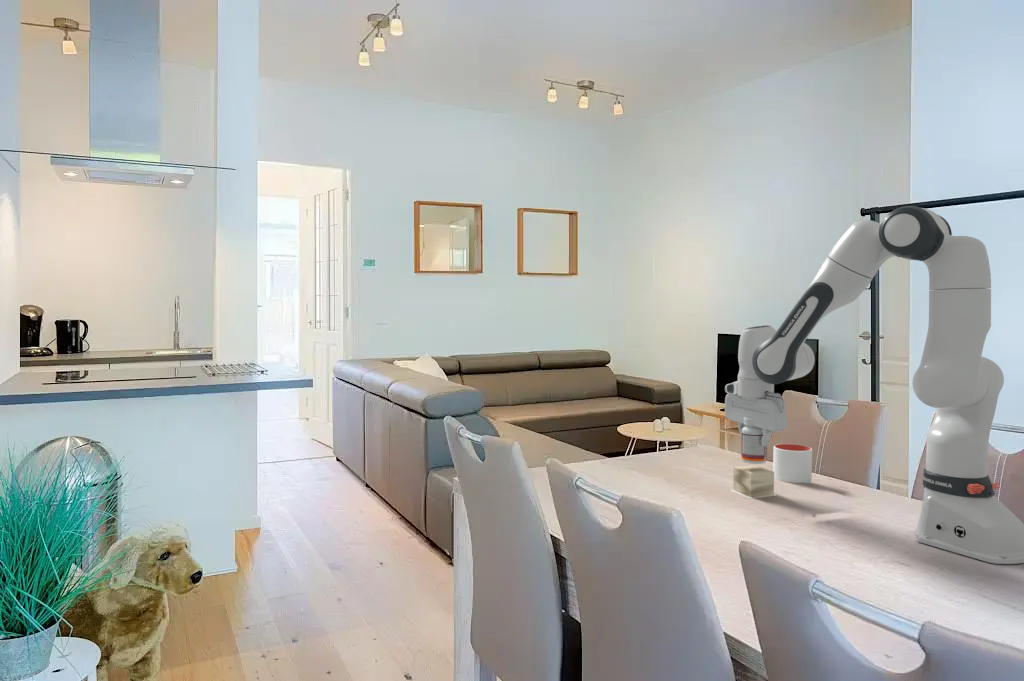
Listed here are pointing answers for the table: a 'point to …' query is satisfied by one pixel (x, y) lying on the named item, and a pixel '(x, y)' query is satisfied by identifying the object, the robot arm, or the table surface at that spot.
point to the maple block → (753, 481)
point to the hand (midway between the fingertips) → (754, 442)
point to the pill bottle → (752, 444)
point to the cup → (792, 463)
